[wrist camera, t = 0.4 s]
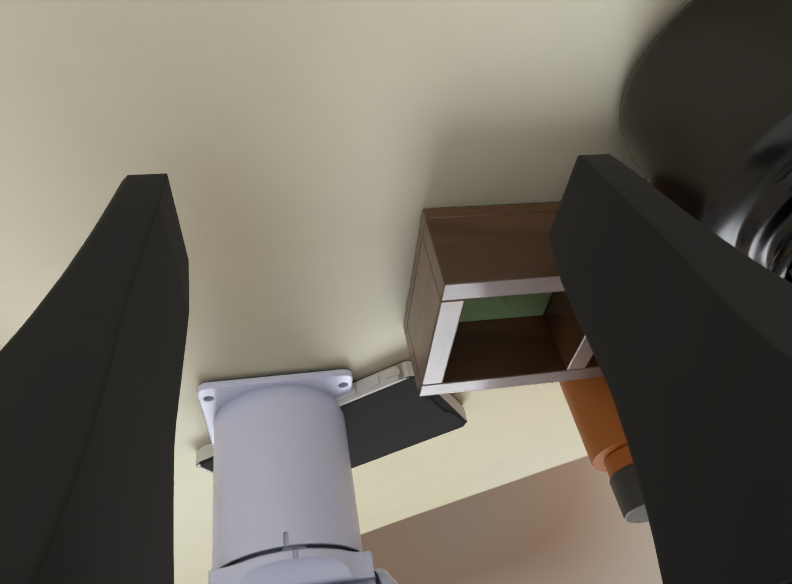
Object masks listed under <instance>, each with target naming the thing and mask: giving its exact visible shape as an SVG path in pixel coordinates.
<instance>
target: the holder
mask: <svg viewBox="0 0 792 584" xmlns="http://www.w3.org/2000/svg"><path fill="white" fill-rule="evenodd" d="M560 203H561V202H552V203H533V204H514V205H495V206H475V207H456V208H437V209H423V211H422V217H421V223H420V229H419V235H418V241H417V247H416V254H415V260H414V266H413V272H412V278H411V284H410V290H409V296H408V302H407V308H406V314H405V320H404V327H403V328H404V332H405V335H406V341H407V345H408V350H409V354H410V358H411V363H412V367H413V372H414V376H415V381H416V385H417V389H418V394H419V396H428V395H438V394H447V393H456V392H466V391H475V390H484V389H494V388H503V387H512V386H521V385H531V384H540V383H549V382H559V381H568V380H577V379H587V378H596V377H604V375H603V373H602V371H601V369H600V367H599V365H598V362H597V360H596V358H595V356H594V354H593V351H592V349H591V347H590V345H589V343H588V341H587V338H586V336H585V334H584V332H583V330H582V328H581V325H580V323H579V321H578V319H577V317H576V314H575V312H574V310H573V308H572V305H571V303H570V301H569V299H568V296H567V294H566V292H565V290H564V287H563V285H562V283H561V280H560V276H559V273H558V270H557V267H556V263H555V260H554V256H553V252H552V249H551V245H550V241H549V237H548V235H549V232H550V230H551V227H552V224H553V222H554V219H555V216H556V214H557V211H558V208H559V206H560Z"/></svg>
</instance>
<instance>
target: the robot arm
mask: <svg viewBox="0 0 792 584" xmlns="http://www.w3.org/2000/svg"><path fill="white" fill-rule="evenodd" d="M548 237H549V241H550V245H551V249H552V252H553V256H554V260H555V263H556V267H557V270H558V273H559V276H560V280H561V283H562V285H563V287H564V290H565V292H566V294H567V296H568V299H569V301H570V303H571V305H572V308H573V310H574V312H575V314H576V317H577V319H578V321H579V323H580V325H581V328H582V330H583V332H584V334H585V336H586V338H587V341H588V343H589V345H590V347H591V349H592V351H593V354H594V356H595V358H596V360H597V362H598V365H599V367H600V369H601V371H602V373H603V375H604V378H605V380H606V383H607V385H608V388H609V390H610V393H611V395H612V398H613V400H614V403H615V407H616V410H617V413H618V416H619V419H620V422H621V425H622V428H623V431H624V434H625V437H626V440H627V443H628V447H629V450H630V454H631V457H632V460H633V464H634V467H635V471H636V474H637V478H638V481H639V484H640V488H641V492H642V496H643V500H644V504H645V508H646V512H647V515H648V519H649V523H650V527H651V531H652V535H653V539H654V544H655V549H656V553H657V558H658V563H659V567H660V572H661V577H662V582H663V584H792V283H790V282H788V281H786V280H785V279H783V278H781V277H780V276H778V275H776V274H775V273H773V272H771V271H770V270H768V269H767V268H765V267H764V266H762V265H760V264H759V263H757V262H756V261H754V260H753V259H751V258H750V257H748V256H747V255H746V254H744V253H743V252H741V251H740V250H738V249H737V248H735V247H734V246H732V245H731V244H729V243H728V242H726V241H725V240H724V239H722V238H721V237H720V236H718V235H717V234H715V233H714V232H713V231H711V230H710V229H708V228H707V227H706V226H704V225H703V224H702V223H700V222H699V221H698V220H696V219H695V218H694V217H692V216H691V215H690V214H688V213H687V212H686V211H684V210H683V209H682V208H681V207H679V206H678V205H677V204H675V203H674V202H673V201H671V200H670V199H669V198H668V197H666V196H665V195H664V194H662V193H661V192H660V191H659V190H657V189H656V188H655V187H653V186H652V185H651V184H650V183H648V182H647V181H646V180H644V179H643V178H642V177H640V176H639V175H638V174H636V173H635V172H634V171H633V170H631V169H630V168H628V167H627V166H626V165H624V164H623V163H622V162H620V161H619V160H617V159H616V158H614V157H613V156H611V155H610V154H600V155H578V157H577V160H576V163H575V165H574V168H573V171H572V173H571V176H570V179H569V181H568V184H567V187H566V189H565V192H564V195H563V197H562V200H561V203H560V206H559V208H558V211H557V214H556V216H555V219H554V222H553V224H552V227H551V230H550V232H549V235H548ZM188 317H189V262H188V256H187V252H186V248H185V244H184V240H183V236H182V232H181V228H180V224H179V220H178V216H177V212H176V208H175V204H174V200H173V196H172V192H171V188H170V184H169V180H168V176H167V174H145V175H127V177H126V178H125V179H124V180H123V181H122V182H121V184H120V186H119V187H118V189H117V191H116V193H115V194H114V196H113V198H112V199H111V201H110V203H109V204H108V206H107V208H106V209H105V211H104V213H103V214H102V216H101V218H100V219H99V221H98V222H97V224H96V226H95V227H94V229H93V230H92V232H91V233H90V235H89V237H88V238H87V240H86V241H85V242H84V244H83V245H82V247H81V248H80V250H79V251H78V253H77V254H76V256H75V257H74V259H73V260H72V262H71V263H70V264H69V266H68V267H67V269H66V270H65V272H64V273H63V274H62V276H61V277H60V279H59V280H58V281H57V282H56V284H55V285H54V286H53V288H52V289H51V290H50V291H49V293H48V294H47V295H46V297H45V298H44V299H43V301H42V302H41V303H40V304H39V306H38V307H37V308H36V310H35V311H34V312H33V313H32V315H31V316H30V317H29V318H28V320H27V321H26V322H25V323H24V324H23V326H22V327H21V328H20V329H19V330H18V331H17V333H16V334H15V335H14V336H13V337H12V338H11V339H10V341H9V342H8V343H7V344H6V345H5V346H4V347H3V348H2V349H1V351H0V584H174V552H173V497H174V444H175V430H176V420H177V411H178V403H179V394H180V386H181V378H182V369H183V361H184V352H185V344H186V335H187V326H188ZM352 380H353V378H352V372H351V371H350V370H347V369H339V370H329V371H319V372H308V373H298V374H288V375H278V376H267V377H257V378H247V379H236V380H226V381H216V382H206V383H202V384H200V385H199V386H198V388H197V395H198V398H199V401H200V405H201V408H202V412H203V415H204V419H205V422H206V425H207V429H208V432H209V436H210V439H211V442H212V446H213V449H214V470H213V553H212V569H211V570H210V571H209V584H398V583H397V582H396V581H395V580H394V579H393V578H392V577H391V576H390V574H389V573H388V572H387V571H386V570H385V569H382V568H380V569H374V565H373V558H372V552H371V551H362V544H361V537H360V529H359V522H358V514H357V507H356V499H355V492H354V485H353V477H352V470H351V463H350V455H349V448H348V441H347V433H346V426H345V418H344V413H343V411H342V410H341V408H340V406H338V402H337V401H336V398H337V397H339V396H341V395H344V394H346V393H348V392H351V391H352Z"/></svg>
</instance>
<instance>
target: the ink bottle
mask: <svg viewBox="0 0 792 584" xmlns="http://www.w3.org/2000/svg"><path fill="white" fill-rule="evenodd" d="M620 124H621V131H622V135H623V139H624V141H625V144H626V146H627V148H628V150H629V152H630V154H631V156H632V157H633V159H634V160H635V162H636V163H637V165H638V166H639V168H640V169H641V171H642V172H643V174H644V175H645V177H646V179H647V180H648V182H649V183H650V184H651V185H652V186H653V187H655V188H656V189H657V190H659V191H660V192H661V193H662V194H664V195H665V196H666V197H668V198H669V199H670V200H671V201H673V202H674V203H675V204H677V205H678V206H679V207H681V208H682V209H683V210H684V211H686V212H687V213H688V214H690V215H691V216H692V217H694V218H695V219H696V220H698V221H699V222H700V223H702V224H703V225H704V226H706V227H707V228H708V229H710V230H711V231H713V232H714V233H715V234H717V235H718V236H720V237H721V238H722V239H724V240H725V241H726V242H728V243H729V244H731V245H732V246H734V247H735V248H737V249H738V250H740V251H741V252H743V253H744V254H746V255H747V256H748V257H750V258H751V259H753V260H754V261H756V262H757V263H759V264H760V265H762V266H764V267H765V268H767V269H768V270H770V271H771V272H773V273H775V274H776V275H778V276H780V277H781V278H783V279H785V280H786V281H788V282H790V283H792V0H692V1H691V2H690V3H689V4H688V5H687V6H686V7H684V8H683V9H682V10H681V11H680V12H679V13H678V14H677V15H676V16H675V17H674V18H673V19H672V20H671V21H670V22H669V23H668V24H667V25H666V26H665V28H664V29H663V30H662V31H661V32H660V33H659V35H658V36H657V37H656V38H655V40H654V41H653V42H652V43H651V45H650V46H649V47H648V49H647V50H646V52H645V53H644V55H643V56H642V58H641V59H640V61H639V63H638V64H637V66H636V68H635V70H634V71H633V73H632V75H631V77H630V80H629V82H628V84H627V87H626V90H625V93H624V96H623V100H622V105H621V112H620Z"/></svg>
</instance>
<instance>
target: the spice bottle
mask: <svg viewBox="0 0 792 584" xmlns="http://www.w3.org/2000/svg"><path fill="white" fill-rule="evenodd" d="M559 383H560V385H561V388H562V390H563V393H564V395H565V398H566V400H567V403H568V405H569V408H570V410H571V413H572V415H573V418H574V421H575V423H576V426H577V428H578V431H579V433H580V436H581V438H582V441H583V443H584V446H585V448H586V451H587V453H588V456H589V458H590V461H591V463H592V466H593V467H594V468H595V469H596V470H599V471H604V472H608V475H609V477H610V485H611V487H612V489H613V492H614V495H615V497H616V500H617V502H618V504H619V507H620V509H621V512H622V514H623V517H624V519H625V520H626V521H628V522H632V523H640V522H648V521H649V519H648V515H647V512H646V508H645V504H644V500H643V496H642V492H641V488H640V484H639V481H638V478H637V474H636V471H635V467H634V464H633V460H632V457H631V454H630V450H629V447H628V443H627V440H626V437H625V434H624V431H623V428H622V425H621V422H620V419H619V416H618V413H617V410H616V407H615V403H614V400H613V398H612V395H611V393H610V390H609V388H608V385H607V383H606V380H605V378H604V377H596V378H587V379H577V380H568V381H559Z"/></svg>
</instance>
